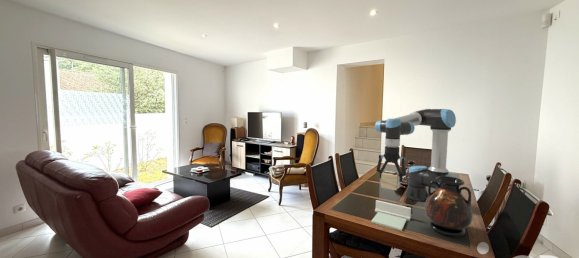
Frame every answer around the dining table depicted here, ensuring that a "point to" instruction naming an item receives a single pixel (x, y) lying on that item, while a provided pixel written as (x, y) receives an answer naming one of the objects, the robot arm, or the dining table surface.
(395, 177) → the maple cube
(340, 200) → the dining table surface
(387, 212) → the white slab
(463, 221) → the amphora vase
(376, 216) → the display pad
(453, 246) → the dining table surface
